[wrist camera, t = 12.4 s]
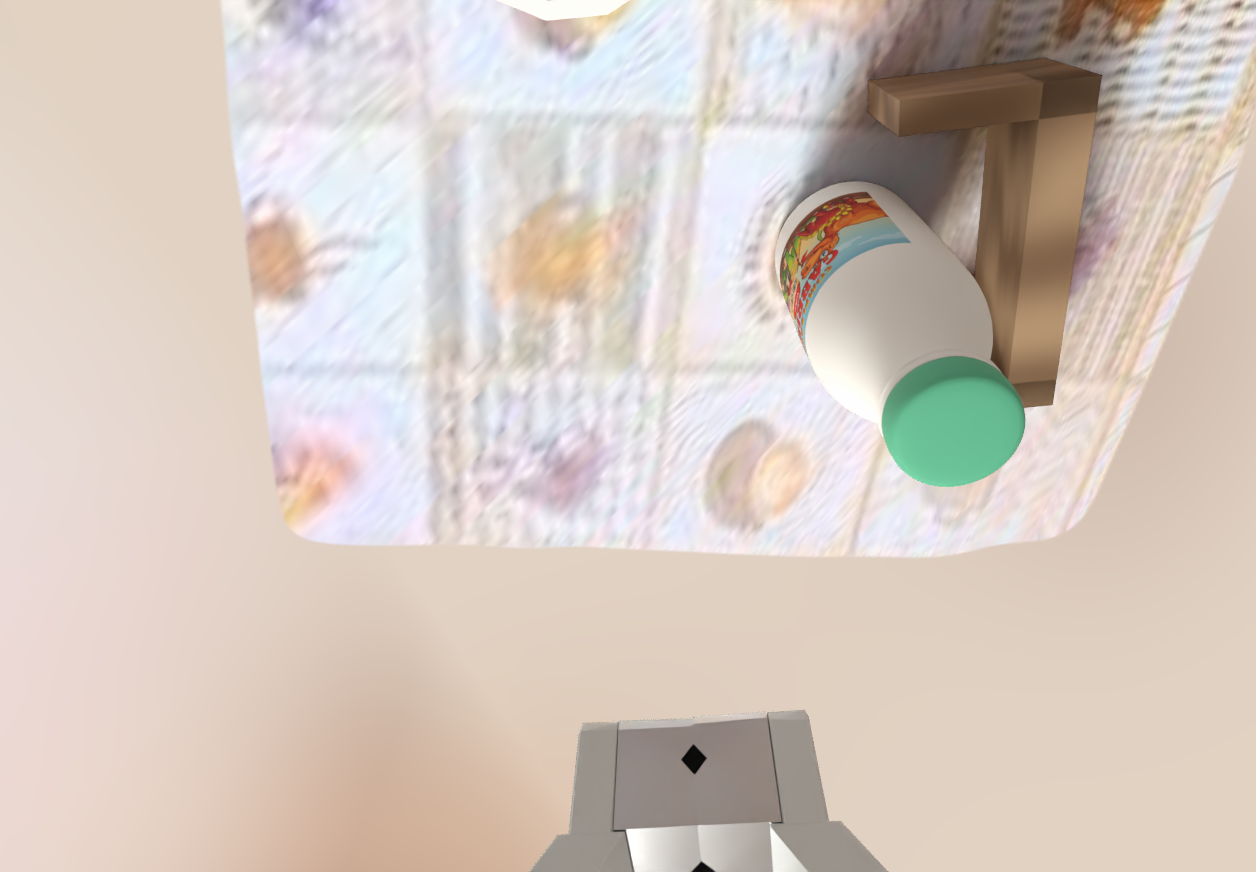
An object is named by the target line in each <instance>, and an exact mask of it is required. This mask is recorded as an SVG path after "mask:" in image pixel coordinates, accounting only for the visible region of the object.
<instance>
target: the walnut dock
mask: <svg viewBox="0 0 1256 872" xmlns="http://www.w3.org/2000/svg"><path fill="white" fill-rule="evenodd" d="M1101 77H1102V75H1100V74H1097V73H1093V72H1090V71H1087V70H1083V69H1080V68H1077V67H1073V66H1070V65H1067V64H1063V63H1060V62H1057V61H1053V60H1050V59H1047V58H1038V59H1031V60H1023V61H1015V62H1007V63H1000V64H992V65H984V66H977V67H969V68H961V69H954V70H946V71H938V72H930V73H923V74H915V75H907V76H900V77H892V78H884V79H877V80H869V81H868V113H869V114H870V115H872V116H873V117H874V118H875V119H877V120H878V121H879V122H880V123H882V124H883V125H884V126H886V127H887V128H888V129H889V130H891V131H892V132H893V133H894V134H896V135H897V136H898V137H901V136H909V135H917V134H925V133H933V132H941V131H949V130H957V129H965V128H973V127H981V126H988V130H987V141H986V153H985V164H984V175H983V187H982V198H981V210H980V221H979V232H978V244H977V255H976V266H975V278H974V279H975V280H976V282H977V283H978V285H979V287H980V289H981V291H982V293H983V295H984V297H985V299H986V301H987V304H988V308H989V311H990V315H991V320H992V329H993V346H992V353H991V359H990V360H991V361H992V362H993V363H994V364H995V365H996V366H997V367H998V368H999V369H1000V371H1001V373H1002V374H1003V375H1004V376H1005V377H1006V378H1007V379H1008V380H1009V381H1010V383H1011V384H1012V385H1013V387H1014V388H1015V390H1016V391H1017V393H1018V395H1019V396H1020V398H1021V401H1022V404H1023V407H1024V408H1026V407H1036V406H1046V405H1053V398H1054V391H1055V385H1056V378H1057V371H1058V365H1059V358H1060V351H1061V345H1062V338H1063V331H1064V325H1065V318H1066V311H1067V305H1068V298H1069V291H1070V285H1071V278H1072V271H1073V265H1074V258H1075V251H1076V244H1077V238H1078V231H1079V224H1080V218H1081V211H1082V204H1083V198H1084V191H1085V184H1086V178H1087V171H1088V164H1089V158H1090V151H1091V144H1092V138H1093V131H1094V124H1095V117H1096V111H1097V104H1098V97H1099V91H1100V84H1101Z"/></svg>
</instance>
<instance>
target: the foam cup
mask: <svg viewBox="0 0 1256 872" xmlns="http://www.w3.org/2000/svg"><path fill="white" fill-rule="evenodd" d="M497 1H500V2H502V3H505V4H507V5H510V6H512V7H514V8H517V9H519V10H522V11H524V12H527V13H529V14H531V15H534V16H536V17H539V18H541V19H544V20H546V21H547V20H557V19H568V18H578V17H588V16H598V15H608V14H609V13H611V12H612V11H614V10H615V9H617V8H618V7H620V6H621V5H623V4H624V3H626V2H627V1H629V0H497Z"/></svg>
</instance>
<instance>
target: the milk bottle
mask: <svg viewBox="0 0 1256 872" xmlns="http://www.w3.org/2000/svg"><path fill="white" fill-rule="evenodd" d="M775 268H776V273H777V277H778V281H779V284H780V287H781V290H782V293H783V295H784V298H785V301H786V303H787V306H788V309H789V312H790V314H791V317H792V320H793V322H794V325H795V327H796V330H797V332H798V335H799V337H800V340H801V343H802V345H803V348H804V350H805V352H806V355H807V357H808V359H809V361H810V363H811V365H812V367H813V369H814V371H815V373H816V375H817V377H818V378H819V380H820V381H821V382H822V384H823V385H824V386H825V388H826V389H827V390H828V392H829V393H830V394H831V395H832V396H833V397H834V398H835V399H836V400H837V401H839V402H840V403H841V404H842V405H843V406H844V407H846V408H847V409H849V410H850V411H852V412H854V413H855V414H857V415H859V416H861V417H863V418H865V419H868V420H870V421H873V422H876V423H878V426H879V429H880V432H881V434H882V436H883V438H884V440H885V442H886V445H887V447H888V450H889V452H890V453H891V455H892V457H893V459H894V460H895V462H896V463H897V465H898V466H899V467H900V468H901V469H902V470H903V471H904V472H906V473H907V474H908V475H909V476H911V477H912V478H914V479H916V480H918V481H920V482H922V483H925V484H928V485H933V486H940V487H953V486H961V485H966V484H969V483H973V482H975V481H978V480H980V479H983V478H985V477H986V476H988V475H990V474H992V473H993V472H995V471H996V470H998V469H999V468H1000V467H1001V466H1002V465H1004V464H1005V463H1006V462H1007V461H1008V460H1009V459H1010V457H1011V456H1012V455H1013V454H1014V452H1015V451H1016V449H1017V447H1018V446H1019V444H1020V442H1021V439H1022V437H1023V433H1024V429H1025V413H1024V407H1023V404H1022V401H1021V398H1020V396H1019V395H1018V393H1017V391H1016V390H1015V388H1014V387H1013V385H1012V384H1011V383H1010V381H1009V380H1008V379H1007V378H1006V377H1005V376H1004V375H1003V374H1002V373H1001V371H1000V369H999V368H998V367H997V366H996V365H995V364H994V363H993V362H992V361H991V360H990V359H991V353H992V346H993V329H992V320H991V315H990V311H989V308H988V304H987V301H986V299H985V297H984V295H983V293H982V291H981V289H980V287H979V285H978V283H977V282H976V280H975V279H974V277H973V276H972V275H971V273H970V272H969V271H968V270H967V268H966V267H965V266H964V265H963V263H962V262H961V261H960V260H959V258H958V257H957V256H956V255H955V254H954V253H953V252H952V251H951V250H950V249H949V247H948V246H947V245H946V244H945V243H944V242H943V241H942V240H941V239H940V238H939V237H938V236H937V235H936V234H935V232H934V231H933V230H932V229H931V228H930V227H929V226H928V225H927V224H926V223H925V222H924V221H923V220H922V219H921V218H920V217H919V216H918V215H917V214H916V213H915V212H914V211H913V210H912V209H911V208H910V207H909V206H908V205H907V204H906V203H905V202H904V201H903V200H902V199H901V198H899V197H898V196H897V195H896V194H895V193H893V192H891V191H890V190H888V189H886V188H884V187H882V186H879V185H876V184H873V183H869V182H860V181H852V182H843V183H838V184H834V185H831V186H828V187H825V188H823V189H821V190H819V191H817V192H815V193H814V194H812V195H811V196H809V197H808V198H806V199H805V200H804V201H803V202H802V203H800V204H799V205H798V206H797V207H796V208H795V209H794V211H793V212H792V213H791V214H790V216H789V217H788V219H787V220H786V222H785V224H784V225H783V227H782V229H781V232H780V234H779V237H778V240H777V245H776V250H775Z"/></svg>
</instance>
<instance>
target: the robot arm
mask: <svg viewBox="0 0 1256 872" xmlns="http://www.w3.org/2000/svg"><path fill="white" fill-rule="evenodd" d="M529 872H888V871H887V870H886V869H885V868H884V867H883V866H882V865H881V864H880V862H879V861H878V860H877V859H876V858H874V856H873V855H872V854H871V853H870V852H869V851H868V850H867V849H866V847H865V846H864V845H863V844H862V843H861V842H860V841H859V840H858V839H857V838H856V837H855V836H854V835H853V834H852V833H851V831H850V830H849V829H848V828H847V827H846V826H845V825H844V824H843V823H842V822H841V821H829V819H828V814H827V809H826V804H825V798H824V794H823V788H822V783H821V778H820V773H819V768H818V763H817V758H816V753H815V747H814V742H813V737H812V732H811V727H810V722H809V717H808V715H807V713H806V712H805V710H797V711H781V712H768V713H767V715H766V712H756V713H742V714H728V715H715V716H701V717H693V718H692V719H662V720H633V721H613V722H592V723H583V724H582V727H581V729H580V732H579V737H578V748H577V757H576V766H575V776H574V786H573V796H572V805H571V815H570V825H569V834H561V835H557V836H556V838H555V839H554V840H553V841H552V843H551V844H550V845H549V847H548V848H547V849H546V850H545V852H544V853H543V854H542V856H541V857H540V858H539V860H538V861H537V862H536V863H535V865H534V866H533V867H532V869H531V870H530V871H529Z"/></svg>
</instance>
